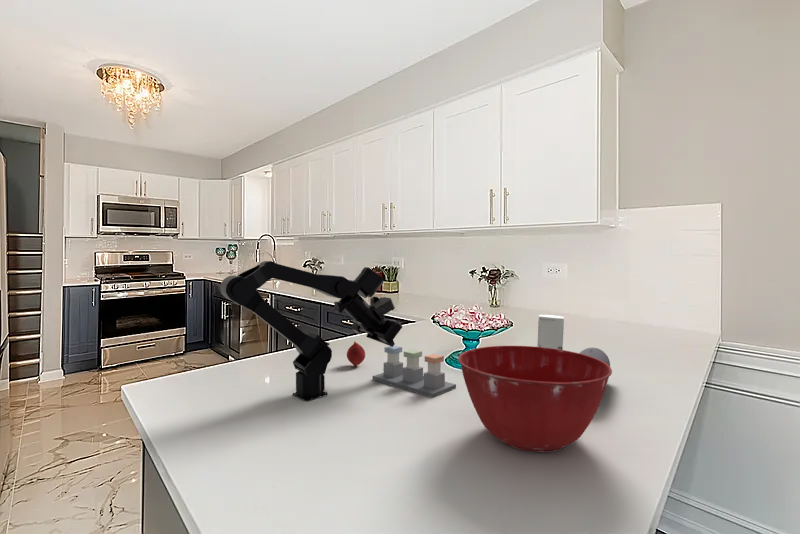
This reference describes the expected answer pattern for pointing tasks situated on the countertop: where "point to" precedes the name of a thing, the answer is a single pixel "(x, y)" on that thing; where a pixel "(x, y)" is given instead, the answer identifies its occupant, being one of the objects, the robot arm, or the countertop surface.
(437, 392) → the key console
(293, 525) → the countertop surface
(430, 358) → the key
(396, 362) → the key
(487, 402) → the mixing bowl
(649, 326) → the countertop surface
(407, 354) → the key
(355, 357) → the onion
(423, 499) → the countertop surface
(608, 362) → the bluetooth speaker
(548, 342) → the skincare box
